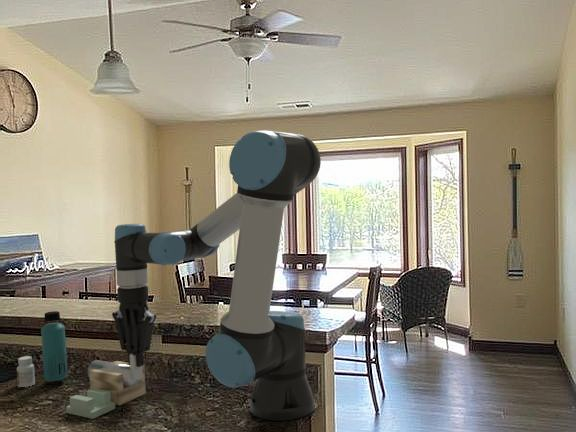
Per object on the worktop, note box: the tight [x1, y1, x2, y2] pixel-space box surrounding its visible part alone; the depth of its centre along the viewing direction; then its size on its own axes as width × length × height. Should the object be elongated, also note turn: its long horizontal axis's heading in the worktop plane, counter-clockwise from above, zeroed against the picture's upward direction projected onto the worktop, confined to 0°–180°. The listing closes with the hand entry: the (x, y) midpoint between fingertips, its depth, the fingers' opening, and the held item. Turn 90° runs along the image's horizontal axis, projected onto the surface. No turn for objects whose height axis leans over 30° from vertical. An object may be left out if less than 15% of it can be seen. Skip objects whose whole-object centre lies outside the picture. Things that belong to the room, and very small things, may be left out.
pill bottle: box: [16, 355, 36, 388], centre depth 162 cm, size 4×4×8 cm
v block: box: [65, 388, 116, 420], centre depth 141 cm, size 9×7×4 cm
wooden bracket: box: [89, 360, 147, 406], centre depth 150 cm, size 10×9×8 cm
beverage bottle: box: [40, 310, 69, 382], centre depth 163 cm, size 6×7×20 cm
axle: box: [87, 359, 141, 387], centre depth 151 cm, size 14×5×5 cm, turn 61°
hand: (136, 378), depth 147 cm, fingers closed
